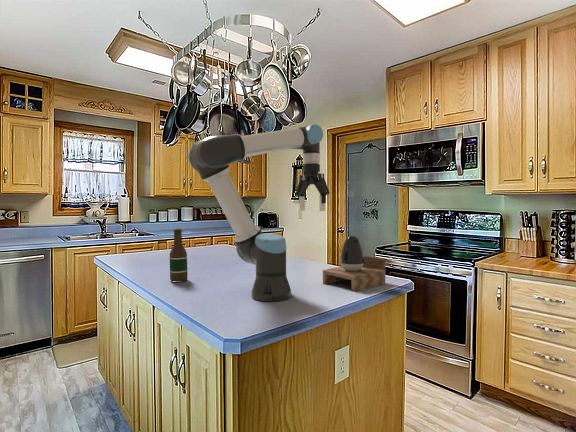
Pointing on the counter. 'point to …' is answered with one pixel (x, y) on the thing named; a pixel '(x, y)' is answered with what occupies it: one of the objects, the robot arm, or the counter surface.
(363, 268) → the walnut shelf
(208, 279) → the counter surface
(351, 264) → the dark grey egg shape
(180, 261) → the beer bottle
